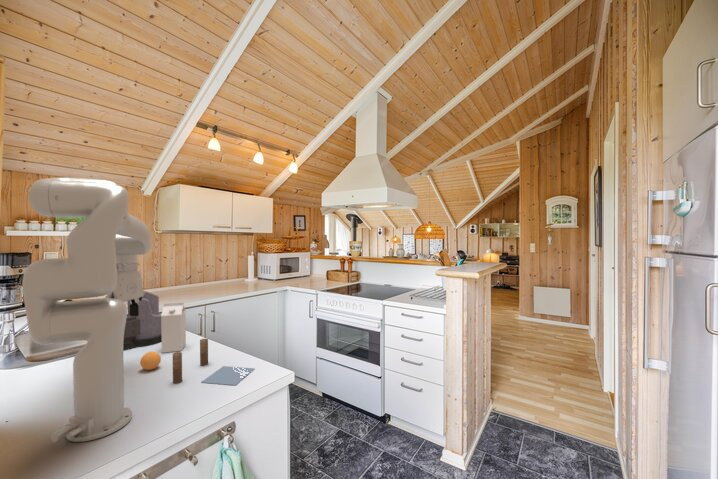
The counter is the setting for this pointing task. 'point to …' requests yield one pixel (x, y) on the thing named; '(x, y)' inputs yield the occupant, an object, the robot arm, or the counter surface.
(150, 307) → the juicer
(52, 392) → the counter surface
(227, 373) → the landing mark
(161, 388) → the counter surface
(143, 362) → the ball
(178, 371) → the inner post
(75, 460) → the counter surface
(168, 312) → the milk carton
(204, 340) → the outer post
